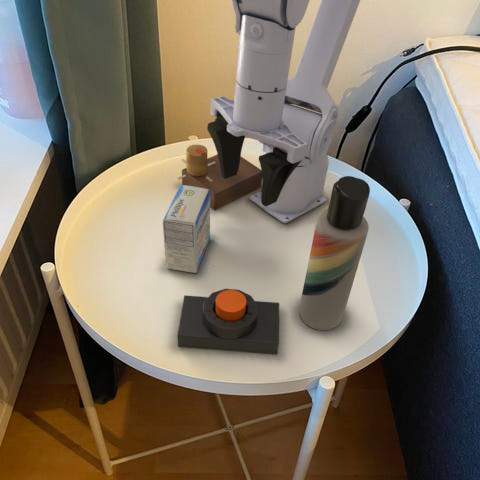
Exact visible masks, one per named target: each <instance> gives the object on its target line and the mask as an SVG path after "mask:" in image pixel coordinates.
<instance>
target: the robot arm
mask: <svg viewBox="0 0 480 480" xmlns="http://www.w3.org/2000/svg"><path fill="white" fill-rule="evenodd" d="M310 1H311V0H231V2H232V8H233V10H234V15H235V22H234V23H235V24H234V29H235V33H236V34H237V35H238V36H239V37H238V38H239V39H238V40H239V42H238V51H237V53H238V54H237V60H236V61H237V63H236V73H235V74H236V75H235V87H234V97H233V98H234V99H231V98H228V97H227V96H224V95H221V96H217V97H213V98H210V113H209V114H210V115H212V116H213V117H215V119H214V121H211V122H208V123H207V126H206V127H207V131H208V133H209V135H210V137H211V140H212V142H213V144H214V147H215V150H216V153H217V154H218V158H219V163H220V168H221V173H222V177H223V178H225V179H227V178H229V177H232V176H235V175H237V172H238V169H239V164H240V157H242V150H243V146H244V142H245V139H246V138H250V139H253V140H255V141H258V142H259V143H260V144H262V152H264V154H262V155H259V156H258V162H259V166H260V169H261V170H262V186H261V190H260V191H258V192H256V193H255V194H252V195H250V197H249V199H250V201H251V202H253V203H254V204H256V205H257V206H258V207H260V208H261V209H262V210H264V211H265V212H267V213H268V214H269V215H271V216H272V217H274V218H275V219H276V220H278V221H279V222H281V223H282V224H288V223H290V222H292V221H294V220H295V219H297V218H299V217H300V216H302V215H304V214H307V213H308V212H310V211H311V210H313V209H315V208H317V207H318V206H320V205H323V204H324V203H326V201H327V198H326V197H325V196H323V195H324V189H325V183H326V179H327V174H328V169H329V157H328V154H327V152H328V150H329V148H330V146H331V143H332V140H333V136H334V133H335V126H336V123H337V120H338V117H339V110H338V109H339V108H338V105H337V103H336V102H335V100H334V99H333V97H332V95H331V94H330V92H329V91H328V88H329V85H330V83H331V80H332V76H333V74H334V72H335V69H336V66H337V63H338V61H339V58H340V56H341V53H342V50H343V48H344V45H345V42H346V39H347V37H348V34H349V31H350V28H351V26H352V24H353V21H354V18H355V15H356V13H357V11H358V8H359V5H360V3H361V0H321V1H320V4H319V7H318V9H317V12H316V16H315V18H314V20H313V23H312V26H311V29H310V31H309V35H308V37H307V40H306V43H305V46H304V48H303V51H302V54H301V57H300V60H299V62H298V65H297V68H296V71H295V73H294V76H292V77H291V78H289V74H290V68H291V61H292V55H293V54H292V53H293V48H294V41H295V35H296V27H298V25H299V24H301V23H302V20H303V19H304V16H305V15H306V12H307V10H308V6H309V3H310ZM217 154H216V155H217Z"/></svg>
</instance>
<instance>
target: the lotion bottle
mask: <svg viewBox="0 0 480 480" xmlns="http://www.w3.org/2000/svg"><path fill="white" fill-rule="evenodd" d="M370 194H371V187H370V185H369V183H368V182H367V181H366V180H364V179H362V178H359V177H355V176H352V175H345V176H342V177H340V178H339V179H338V180H337V181H335V182H334V183H333V185H332V190H331V194H330V198H329V203H328V208H326V209H324V210H323V211H322V212H320V214H319V215H318V216H317V219H316V223H315V228H314V233H313V237H312V241H311V242H312V243H311V248H310V253H309V257H308V262H307V266H306V267H307V268H306V272H305V278H304V282H303V286H302V287H303V288H302V292H301V297H300V302H299V309H298V313H299V318H300V320H302V322H303V323H304V324H305V325H306V326H308V328H309V327H310V328H311V329H314V330H317V331H329V330H332V329H335V328H336V327H338V326H339V325H340V324H341V322H342V320H343V318H344V315H345V311H346V309H347V305H348V302H349V298H350V295H351V291H352V288H353V285H354V281H355V277H356V274H357V271H358V268H359V265H360V261H361V257H362V254H363V250H364V248H365V244H366V242H367V241H366V240H367V236H368V233H369V222H368V220H367V218H366V217H365V216H364V215H365V212H366V208H367V205H368V200H369V198H370Z"/></svg>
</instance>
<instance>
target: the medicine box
mask: <svg viewBox="0 0 480 480" xmlns="http://www.w3.org/2000/svg"><path fill="white" fill-rule="evenodd" d="M162 235H163V245H164V258H165V259H164V260H165V266H166V267H165V268H166V269H170V270H174V271H181V272H186V273H193V274H197V273H198V272H199V271H198V270H199V268H200V265H201V263H202V260H203V258H204V254H205V252H206V250H207V247H208V244H209V242H210V239H211V207H210V190H208V189H204V188H199V187H194V186H186V185H182V184H180V185H179V186H178V188H177V191H176V192H175V194H174V197H173V199H172V201H171V203H170V205H169V206H168V209H167V210H166V213H165V215H164V217H163V219H162Z"/></svg>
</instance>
